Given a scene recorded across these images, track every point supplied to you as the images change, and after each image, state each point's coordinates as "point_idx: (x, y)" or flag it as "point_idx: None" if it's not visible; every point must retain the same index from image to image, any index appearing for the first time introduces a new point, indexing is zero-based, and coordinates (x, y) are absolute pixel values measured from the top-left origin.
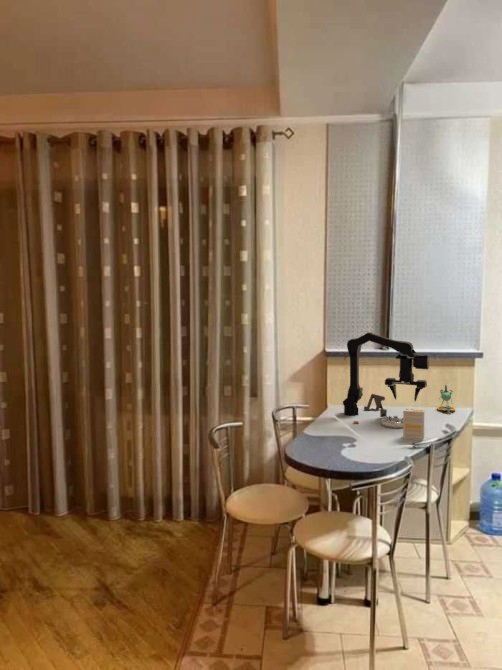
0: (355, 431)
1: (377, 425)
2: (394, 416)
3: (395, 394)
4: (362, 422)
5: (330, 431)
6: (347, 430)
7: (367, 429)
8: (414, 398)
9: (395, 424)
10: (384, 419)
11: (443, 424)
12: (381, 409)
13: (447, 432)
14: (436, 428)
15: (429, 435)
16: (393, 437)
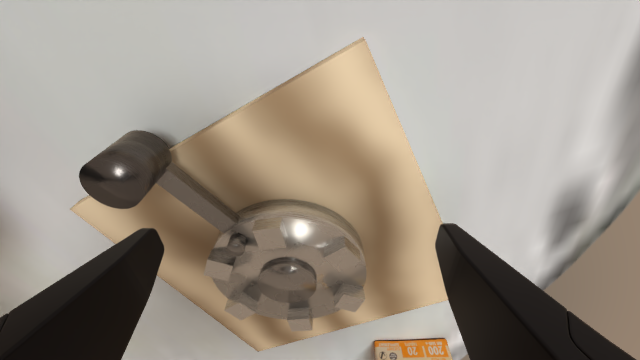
0: (184, 336)
1: None
2: (264, 246)
3: (118, 329)
4: None
5: None
6: (152, 336)
7: None
8: (448, 296)
9: (315, 316)
10: (244, 314)
11: (629, 28)
12: (96, 190)
13: (579, 223)
14: (531, 172)
15: None
16: (334, 344)
